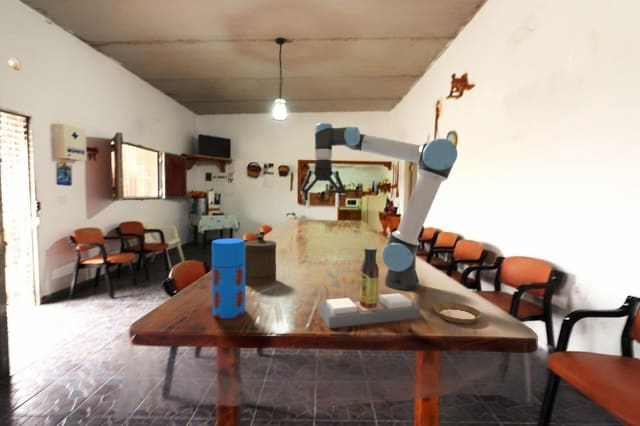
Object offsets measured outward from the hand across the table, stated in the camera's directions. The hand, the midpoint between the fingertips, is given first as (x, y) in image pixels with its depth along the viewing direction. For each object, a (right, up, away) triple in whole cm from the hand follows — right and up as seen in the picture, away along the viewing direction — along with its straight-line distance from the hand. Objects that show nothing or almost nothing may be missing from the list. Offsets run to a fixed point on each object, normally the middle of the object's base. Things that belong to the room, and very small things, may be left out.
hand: (322, 207), depth 137 cm
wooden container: (-29, -34, +5) cm, 45 cm away
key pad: (+15, -38, -32) cm, 52 cm away
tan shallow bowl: (+46, -38, -32) cm, 68 cm away
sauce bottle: (+15, -34, -32) cm, 49 cm away
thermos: (-33, -37, -31) cm, 58 cm away
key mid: (+15, -36, -32) cm, 51 cm away
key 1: (+6, -35, -35) cm, 50 cm away
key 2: (+25, -35, -30) cm, 52 cm away
